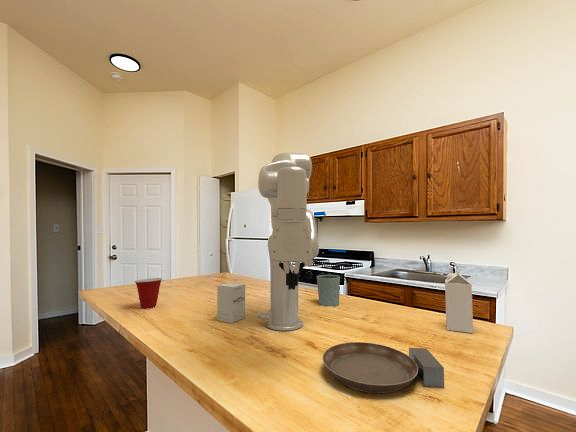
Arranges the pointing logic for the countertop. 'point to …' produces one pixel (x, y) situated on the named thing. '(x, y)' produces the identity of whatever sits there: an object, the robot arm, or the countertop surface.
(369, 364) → the plant saucer
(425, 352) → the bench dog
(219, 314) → the supplement box
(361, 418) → the countertop surface
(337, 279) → the grey green tapered pot
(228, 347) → the countertop surface
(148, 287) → the plastic cup
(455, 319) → the milk carton
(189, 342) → the countertop surface
